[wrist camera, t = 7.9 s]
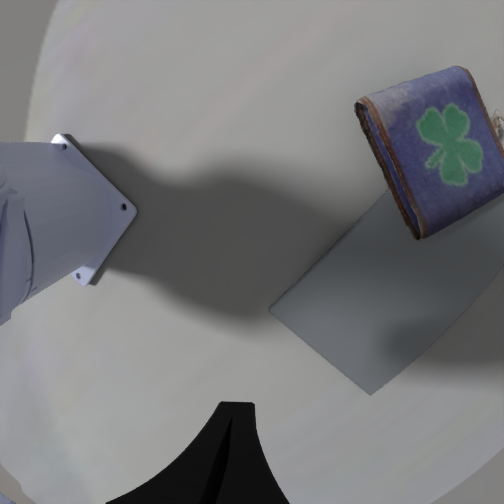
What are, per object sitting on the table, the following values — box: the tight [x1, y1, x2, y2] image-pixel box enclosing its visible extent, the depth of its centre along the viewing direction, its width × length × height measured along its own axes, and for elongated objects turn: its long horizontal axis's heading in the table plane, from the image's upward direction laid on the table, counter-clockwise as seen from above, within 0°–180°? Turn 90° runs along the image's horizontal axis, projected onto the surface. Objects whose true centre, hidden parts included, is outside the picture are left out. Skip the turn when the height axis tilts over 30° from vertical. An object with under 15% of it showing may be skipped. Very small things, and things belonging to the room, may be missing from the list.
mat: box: [269, 189, 504, 396], centre depth 19 cm, size 12×20×1 cm, turn 137°
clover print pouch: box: [354, 66, 504, 242], centre depth 15 cm, size 9×3×11 cm
